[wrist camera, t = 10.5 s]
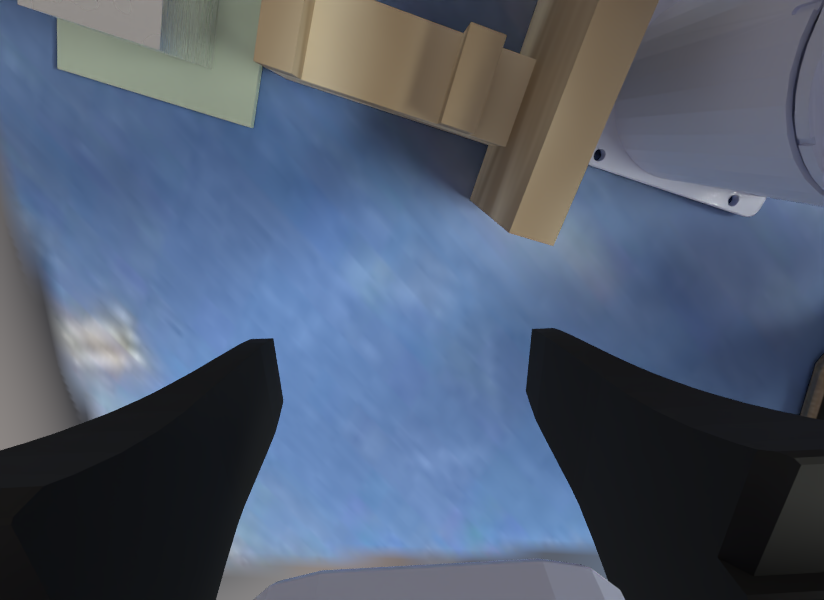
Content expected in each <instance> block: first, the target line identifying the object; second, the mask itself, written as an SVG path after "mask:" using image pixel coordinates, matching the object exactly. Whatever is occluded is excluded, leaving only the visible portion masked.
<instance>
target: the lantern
mask: <svg viewBox="0 0 824 600" xmlns="http://www.w3.org/2000/svg"><path fill="white" fill-rule="evenodd" d="M800 416H805V417H809V418H814V419H820V420H824V354H823V355H822V356H821V358H820V359H819V360H818V361H817V362H816V364H815V367H814V370H813V374H812V377H811V380H810V384H809V387H808V390H807V394H806V397H805V400H804V404H803V407H802V410H801V414H800Z"/></svg>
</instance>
